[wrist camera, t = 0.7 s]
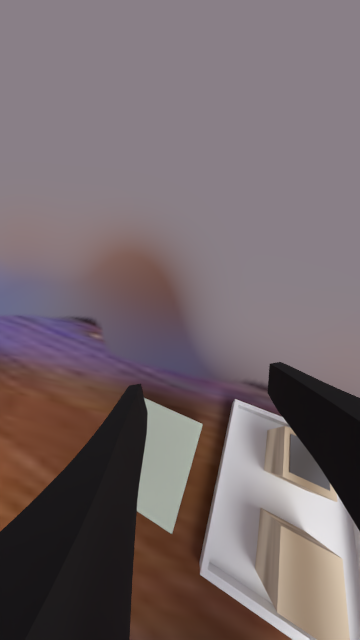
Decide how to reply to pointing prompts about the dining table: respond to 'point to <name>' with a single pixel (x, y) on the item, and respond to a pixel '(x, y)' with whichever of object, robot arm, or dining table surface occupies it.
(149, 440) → the sage stand
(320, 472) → the labelled block
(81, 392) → the dining table surface
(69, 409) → the dining table surface
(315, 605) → the plain block
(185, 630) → the dining table surface
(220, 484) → the parts tray
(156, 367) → the dining table surface
